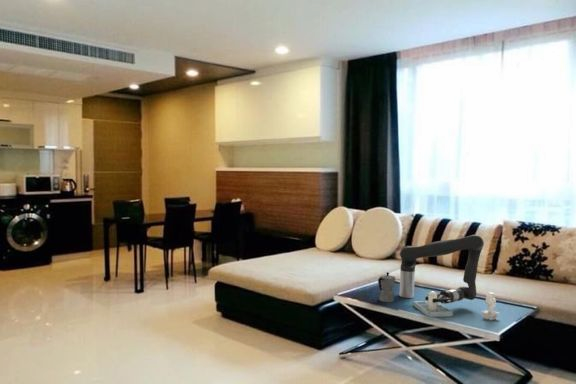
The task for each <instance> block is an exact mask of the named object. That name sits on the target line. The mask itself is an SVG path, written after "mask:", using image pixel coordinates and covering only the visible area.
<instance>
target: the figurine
mask: <svg viewBox="0 0 576 384" xmlns="http://www.w3.org/2000/svg"><path fill="white" fill-rule="evenodd" d="M485 304H486V305H487V309H485V310H483V311H480V312H481V314H482V316H483V318H484V319H485V320H488V319H489V320H488V321H493V320H496V319H497V317H498V315H500V312H498V311H494V308H496V306H497V300H496V298H495V293H494V292H491V291H488V294H485Z"/></svg>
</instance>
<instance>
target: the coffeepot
mask: <svg viewBox="0 0 576 384" xmlns="http://www.w3.org/2000/svg"><path fill="white" fill-rule="evenodd" d="M395 281H396V276H393V275H390V272H388V271H387V272H386V274H385V275H384V274H383V275H381V276H379V278H378V281H377V283H378V288H379V291H380V295H379V301H380V302H383V303H393V302H395V297H394V291H393V288H394V285H395Z"/></svg>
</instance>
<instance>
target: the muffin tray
mask: <svg viewBox="0 0 576 384" xmlns="http://www.w3.org/2000/svg"><path fill="white" fill-rule="evenodd" d="M412 306H413V307H414V306H415V308H416V309H417V310H419V311H420V312H422V313H423V314H424V315H425V316H427V317H428V318H429V317H431V318H433V317H453V316H454V311H453V310H451V309H449V308H447V307H446V306H445V305H443V304H442V303H441V302H440V303H438V302H437V312H429V311H428V300H427V301H426V300H425V301H424V300H423V301H422V300H419V301H416V300H415V301H414V300H413V304H412Z"/></svg>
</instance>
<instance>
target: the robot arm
mask: <svg viewBox="0 0 576 384" xmlns="http://www.w3.org/2000/svg"><path fill="white" fill-rule="evenodd" d="M484 244H485V243H484V239H483V238H482V237H481V236H480V235H477V234H472V235H467V236H464V237H460V238H453V239H444V240H437V241H433V242H429V243H427V244H423V245H420V246H412V245H406V246H404V247H402V249H401V250H400V252H399V255H400V258H401V263H400V275H399V297H401V298H407V299H411V298H414V297H415V296H414V295H415V279H416V278H415V275H416V273H415V272H416V265H417V260H418V259H421V258H431V257H441V256H447V255H450V254H453V253H456V252H458V251H464V250H468V257H467V261H466V264H465V268H464V273H463V279H462V281H463V282H464V283H466V284H467V286H459V287H457V288H454V289H446V290H441V291H440V292H439V293H436V294H437V298H435V299H433V303H436V302H438V303H440V304H445V305H446V304H452V303H455V302H460V301H463V299H465V300H469V301H472V300H475V299H476V297H477V285H476V280H477V272H478V266H479V261H480V256H481V253H482V250H483V247H484ZM424 299H425V301H428V295H426V296H425V298H424Z"/></svg>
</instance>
